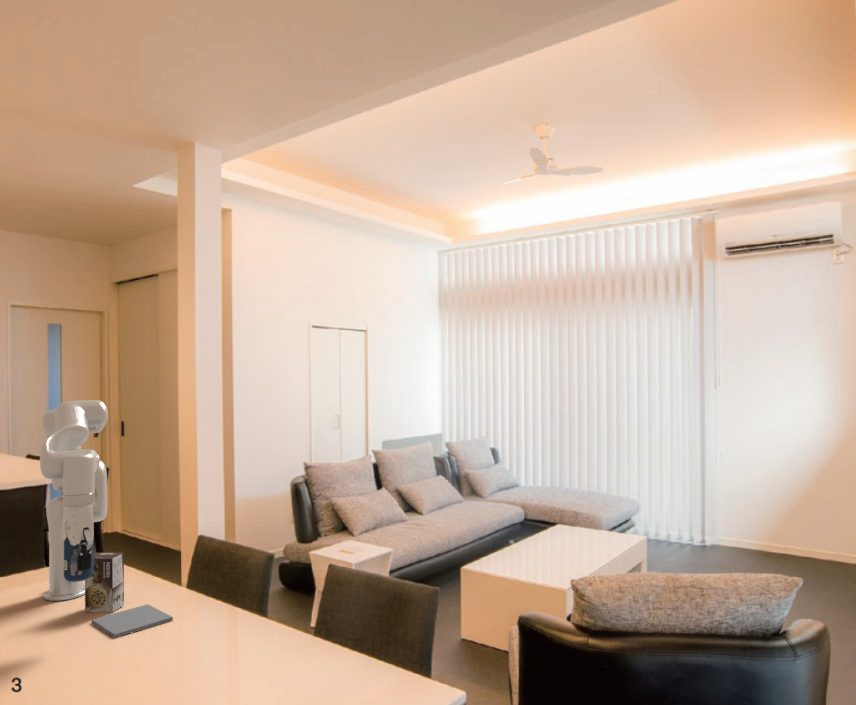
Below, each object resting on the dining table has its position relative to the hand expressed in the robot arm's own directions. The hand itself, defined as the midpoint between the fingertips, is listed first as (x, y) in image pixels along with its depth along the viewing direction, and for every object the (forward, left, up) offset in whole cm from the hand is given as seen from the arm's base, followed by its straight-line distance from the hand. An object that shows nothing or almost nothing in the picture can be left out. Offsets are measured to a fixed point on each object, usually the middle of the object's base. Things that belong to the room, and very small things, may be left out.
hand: (78, 566), depth 171 cm
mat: (-2, +15, -20) cm, 25 cm away
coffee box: (-19, +14, -20) cm, 31 cm away
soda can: (0, 0, -3) cm, 3 cm away
